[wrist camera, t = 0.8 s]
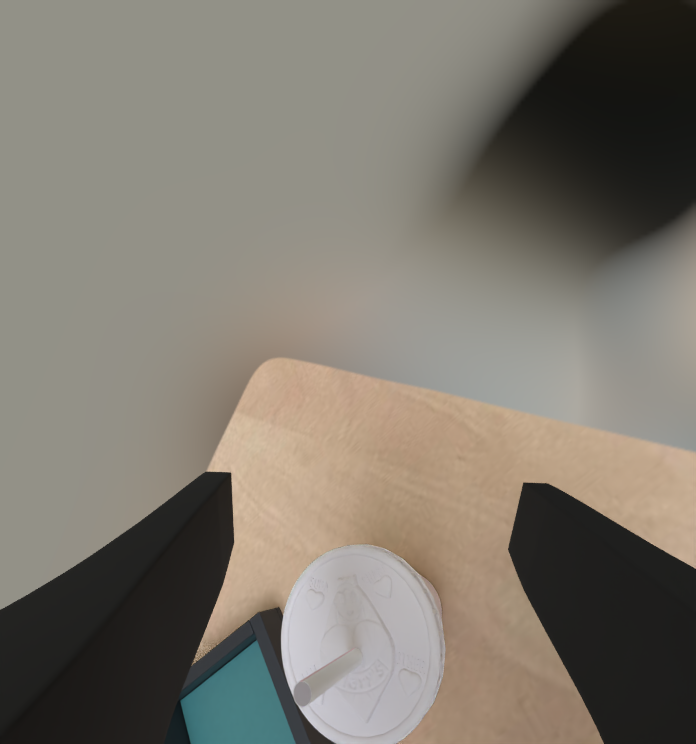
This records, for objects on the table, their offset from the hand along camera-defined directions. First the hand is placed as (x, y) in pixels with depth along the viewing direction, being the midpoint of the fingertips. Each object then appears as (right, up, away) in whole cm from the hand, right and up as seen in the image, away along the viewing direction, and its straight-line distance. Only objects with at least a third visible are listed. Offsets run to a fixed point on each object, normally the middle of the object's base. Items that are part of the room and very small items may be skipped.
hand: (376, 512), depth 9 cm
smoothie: (+3, -10, +13) cm, 17 cm away
